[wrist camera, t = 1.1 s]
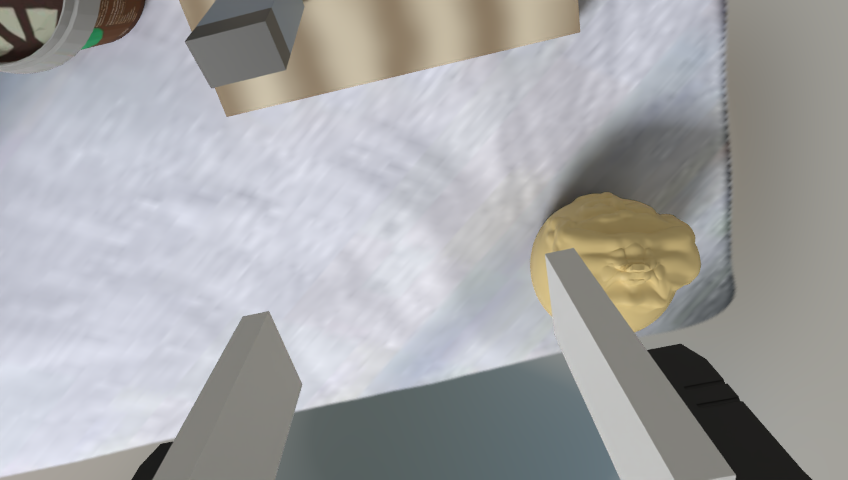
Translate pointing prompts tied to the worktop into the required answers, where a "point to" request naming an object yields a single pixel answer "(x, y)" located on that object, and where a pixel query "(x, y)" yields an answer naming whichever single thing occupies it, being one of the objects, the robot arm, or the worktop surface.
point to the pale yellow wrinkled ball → (621, 253)
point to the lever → (245, 39)
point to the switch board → (390, 42)
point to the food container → (59, 30)
